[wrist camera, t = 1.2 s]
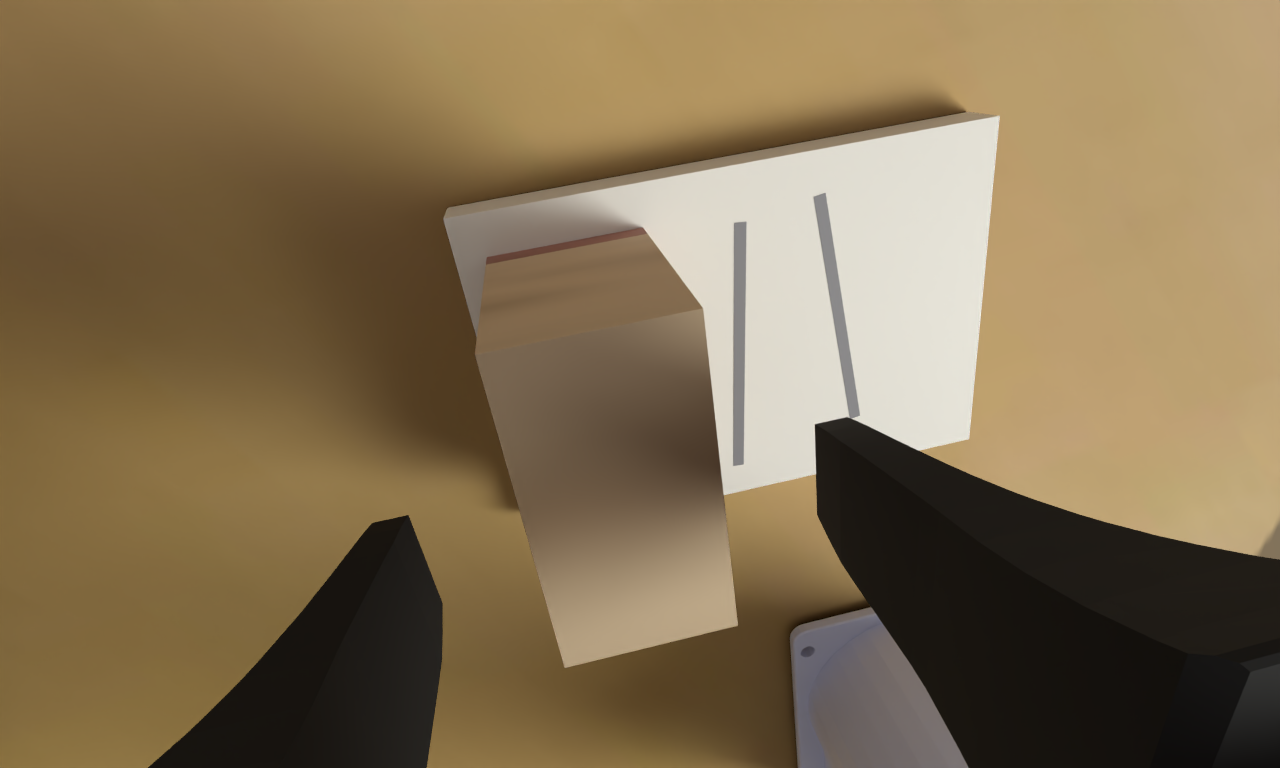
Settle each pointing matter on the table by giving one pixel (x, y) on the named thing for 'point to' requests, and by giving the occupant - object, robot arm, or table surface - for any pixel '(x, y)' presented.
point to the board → (800, 278)
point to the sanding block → (609, 440)
